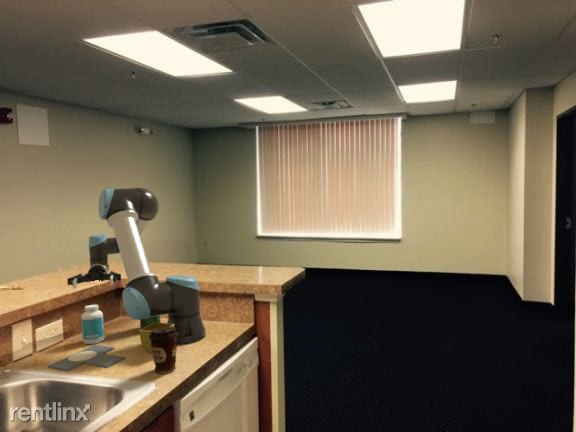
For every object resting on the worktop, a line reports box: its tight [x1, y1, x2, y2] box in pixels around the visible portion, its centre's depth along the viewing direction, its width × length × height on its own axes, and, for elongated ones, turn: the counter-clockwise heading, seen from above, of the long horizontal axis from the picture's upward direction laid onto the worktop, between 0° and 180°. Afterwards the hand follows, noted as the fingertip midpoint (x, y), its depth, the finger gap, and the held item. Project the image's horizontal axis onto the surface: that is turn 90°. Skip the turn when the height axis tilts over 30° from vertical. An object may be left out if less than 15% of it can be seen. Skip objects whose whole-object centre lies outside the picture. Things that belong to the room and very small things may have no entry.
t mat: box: [47, 344, 126, 372], centre depth 156 cm, size 19×20×1 cm
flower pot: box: [138, 322, 174, 355], centre depth 160 cm, size 9×9×9 cm
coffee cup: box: [149, 327, 178, 374], centre depth 144 cm, size 9×8×13 cm
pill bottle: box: [80, 304, 105, 345], centre depth 173 cm, size 8×7×14 cm
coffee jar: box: [139, 315, 162, 329], centre depth 186 cm, size 10×8×19 cm
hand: (92, 283), depth 182 cm, fingers open, 13 cm apart
